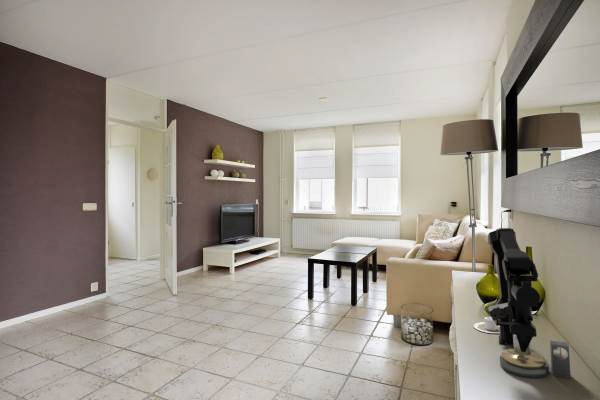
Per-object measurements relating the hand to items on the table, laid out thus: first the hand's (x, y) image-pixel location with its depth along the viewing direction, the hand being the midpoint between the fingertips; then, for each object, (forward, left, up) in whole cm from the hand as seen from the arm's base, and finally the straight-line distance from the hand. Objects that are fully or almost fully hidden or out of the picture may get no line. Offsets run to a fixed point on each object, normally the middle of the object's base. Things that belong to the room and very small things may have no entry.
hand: (522, 348), depth 105 cm
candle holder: (-32, -9, -6) cm, 34 cm away
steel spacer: (0, 0, -1) cm, 1 cm away
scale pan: (0, 0, -3) cm, 3 cm away
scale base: (0, +2, -6) cm, 6 cm away
